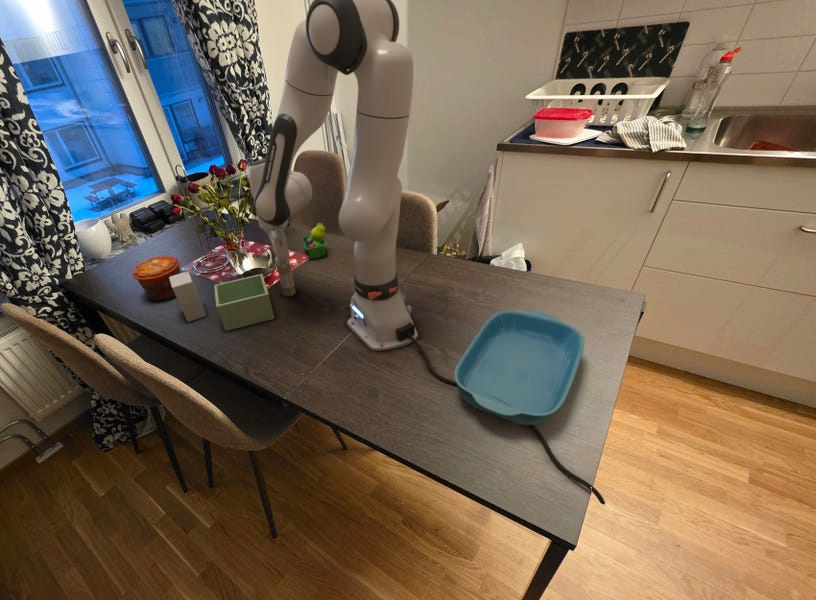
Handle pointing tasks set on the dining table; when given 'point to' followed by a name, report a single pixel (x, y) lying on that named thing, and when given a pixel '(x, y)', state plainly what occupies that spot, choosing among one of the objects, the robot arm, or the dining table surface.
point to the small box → (187, 296)
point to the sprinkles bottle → (286, 278)
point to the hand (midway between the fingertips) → (281, 260)
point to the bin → (243, 302)
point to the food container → (157, 276)
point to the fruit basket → (316, 242)
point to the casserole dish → (520, 366)
